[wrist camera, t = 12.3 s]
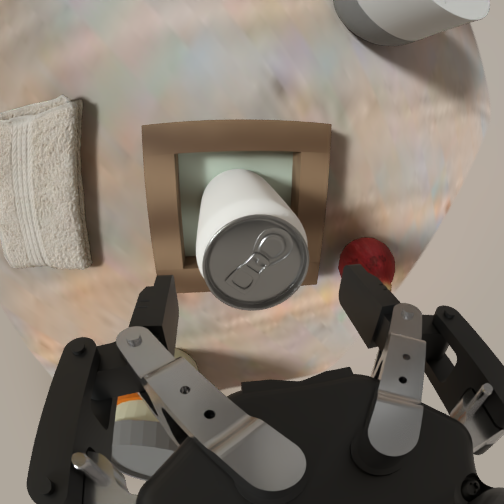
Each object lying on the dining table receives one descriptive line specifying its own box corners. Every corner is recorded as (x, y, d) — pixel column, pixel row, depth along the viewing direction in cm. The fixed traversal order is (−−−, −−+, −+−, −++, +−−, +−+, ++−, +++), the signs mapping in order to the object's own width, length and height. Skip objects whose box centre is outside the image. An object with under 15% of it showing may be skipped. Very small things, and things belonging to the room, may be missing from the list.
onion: (318, 264, 31) (348, 307, 23) (344, 218, 29) (384, 251, 21) (357, 279, 32) (389, 320, 25) (382, 238, 30) (422, 271, 23)
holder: (151, 125, 22) (141, 125, 19) (316, 123, 24) (331, 124, 21) (164, 275, 29) (160, 293, 26) (306, 267, 30) (316, 284, 27)
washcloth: (87, 92, 20) (73, 89, 17) (98, 263, 28) (88, 278, 25) (1, 114, 18) (-15, 115, 16) (19, 261, 26) (7, 274, 23)
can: (287, 198, 26) (339, 256, 15) (241, 249, 27) (261, 333, 17) (233, 152, 23) (251, 178, 13) (186, 209, 25) (169, 277, 14)
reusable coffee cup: (213, 394, 38) (220, 485, 25) (132, 392, 36) (119, 479, 23) (208, 334, 33) (213, 446, 19) (109, 332, 31) (78, 434, 18)
